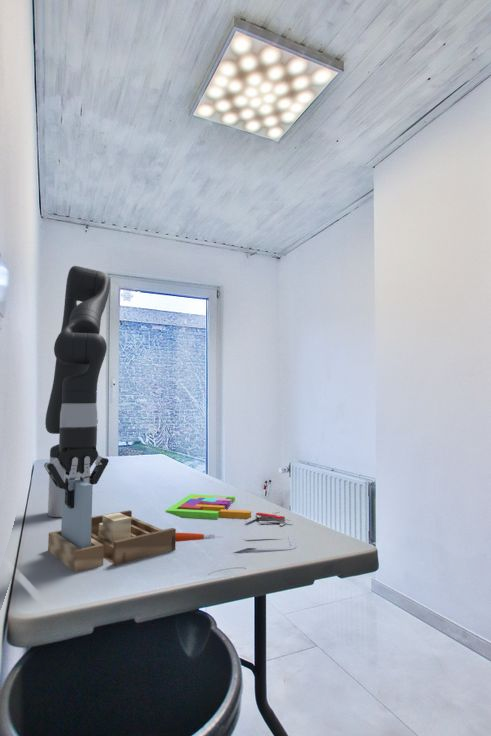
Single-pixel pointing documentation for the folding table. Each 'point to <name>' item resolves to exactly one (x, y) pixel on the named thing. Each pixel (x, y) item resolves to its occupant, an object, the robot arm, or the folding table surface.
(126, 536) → the offcut mid
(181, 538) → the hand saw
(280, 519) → the swiss army knife
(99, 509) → the folding table surface
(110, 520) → the offcut short
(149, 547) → the rack
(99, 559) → the stand
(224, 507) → the toy blocks
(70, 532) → the panel
